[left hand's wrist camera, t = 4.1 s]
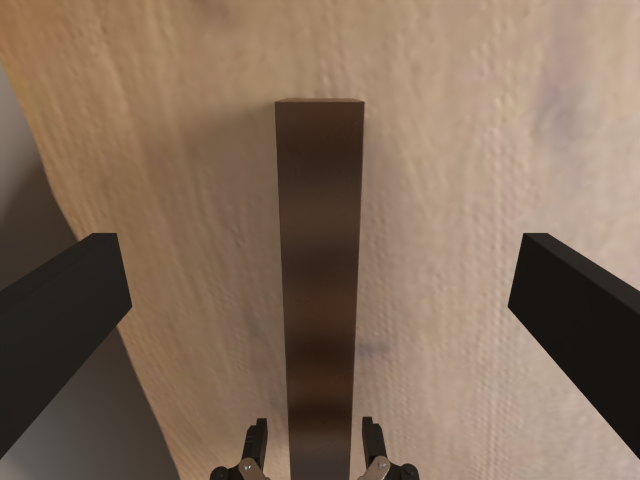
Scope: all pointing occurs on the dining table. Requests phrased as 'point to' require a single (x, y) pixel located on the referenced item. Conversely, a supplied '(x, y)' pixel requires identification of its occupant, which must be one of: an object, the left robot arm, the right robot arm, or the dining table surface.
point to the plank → (319, 275)
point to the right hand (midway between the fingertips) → (315, 424)
